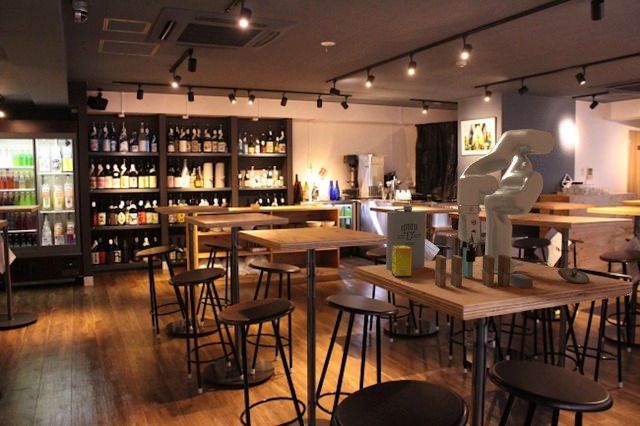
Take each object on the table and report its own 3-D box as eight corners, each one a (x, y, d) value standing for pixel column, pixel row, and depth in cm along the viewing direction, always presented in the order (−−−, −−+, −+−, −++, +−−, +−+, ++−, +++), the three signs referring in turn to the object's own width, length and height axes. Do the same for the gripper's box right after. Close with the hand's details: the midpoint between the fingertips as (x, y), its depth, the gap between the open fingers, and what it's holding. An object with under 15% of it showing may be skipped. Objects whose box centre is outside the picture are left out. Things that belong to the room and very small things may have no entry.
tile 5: (503, 283, 181) (504, 254, 180) (509, 286, 176) (510, 257, 175) (497, 283, 181) (498, 254, 180) (503, 286, 176) (504, 257, 175)
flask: (391, 270, 203) (392, 206, 201) (384, 268, 207) (385, 205, 205) (427, 267, 211) (428, 205, 209) (420, 265, 215) (421, 204, 213)
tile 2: (456, 284, 180) (457, 255, 179) (461, 287, 175) (462, 257, 174) (450, 284, 180) (451, 255, 179) (455, 287, 175) (456, 257, 174)
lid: (574, 277, 193) (575, 264, 192) (596, 283, 183) (597, 269, 183) (551, 279, 189) (551, 265, 189) (572, 285, 180) (572, 270, 179)
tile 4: (487, 283, 181) (488, 254, 180) (493, 287, 176) (494, 257, 175) (481, 283, 181) (482, 254, 180) (487, 287, 176) (488, 257, 175)
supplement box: (391, 274, 195) (392, 245, 194) (407, 274, 196) (407, 245, 195) (395, 278, 189) (395, 247, 189) (411, 277, 190) (412, 247, 189)
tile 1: (440, 284, 179) (441, 255, 178) (445, 287, 174) (446, 257, 173) (434, 284, 179) (435, 255, 178) (439, 287, 174) (440, 257, 173)
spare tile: (467, 274, 194) (468, 247, 193) (472, 277, 189) (473, 249, 188) (462, 274, 194) (462, 247, 193) (467, 277, 189) (467, 249, 188)
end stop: (519, 282, 184) (520, 273, 184) (532, 287, 175) (532, 278, 175) (508, 282, 184) (509, 273, 183) (521, 287, 175) (521, 278, 174)
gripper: (488, 212, 181) (487, 264, 183) (469, 208, 198) (468, 256, 199) (467, 212, 180) (466, 264, 182) (450, 208, 197) (449, 256, 199)
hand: (467, 259), depth 191 cm, fingers closed on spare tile, 4 cm apart
